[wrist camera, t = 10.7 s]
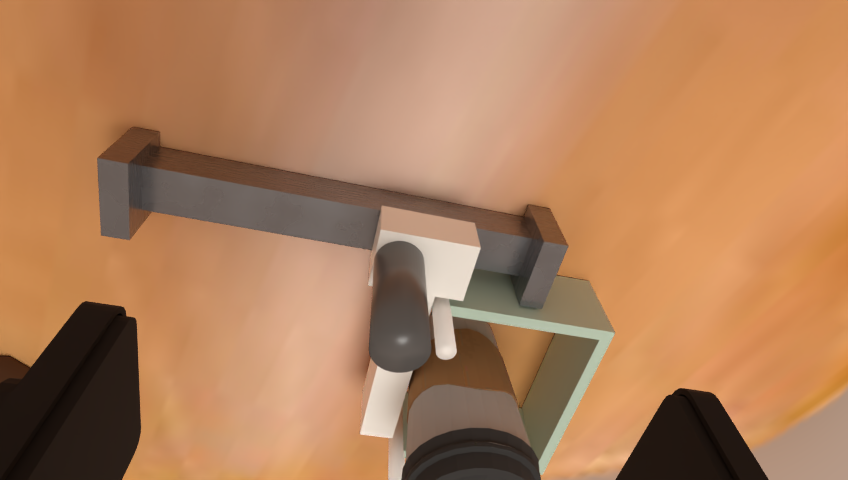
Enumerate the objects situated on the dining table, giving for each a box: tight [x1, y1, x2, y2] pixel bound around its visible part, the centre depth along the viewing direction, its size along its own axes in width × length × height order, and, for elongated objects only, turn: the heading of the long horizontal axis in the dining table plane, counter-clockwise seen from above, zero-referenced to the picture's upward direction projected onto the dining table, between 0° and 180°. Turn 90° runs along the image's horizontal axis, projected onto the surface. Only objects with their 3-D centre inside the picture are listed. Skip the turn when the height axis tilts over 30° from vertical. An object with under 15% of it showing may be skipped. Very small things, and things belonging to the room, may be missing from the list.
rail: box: [97, 127, 568, 309], centre depth 37 cm, size 5×28×5 cm, turn 77°
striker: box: [360, 206, 481, 438], centre depth 36 cm, size 17×6×12 cm, turn 167°
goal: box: [388, 268, 615, 480], centre depth 42 cm, size 15×12×10 cm
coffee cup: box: [401, 314, 541, 480], centre depth 39 cm, size 8×8×15 cm
